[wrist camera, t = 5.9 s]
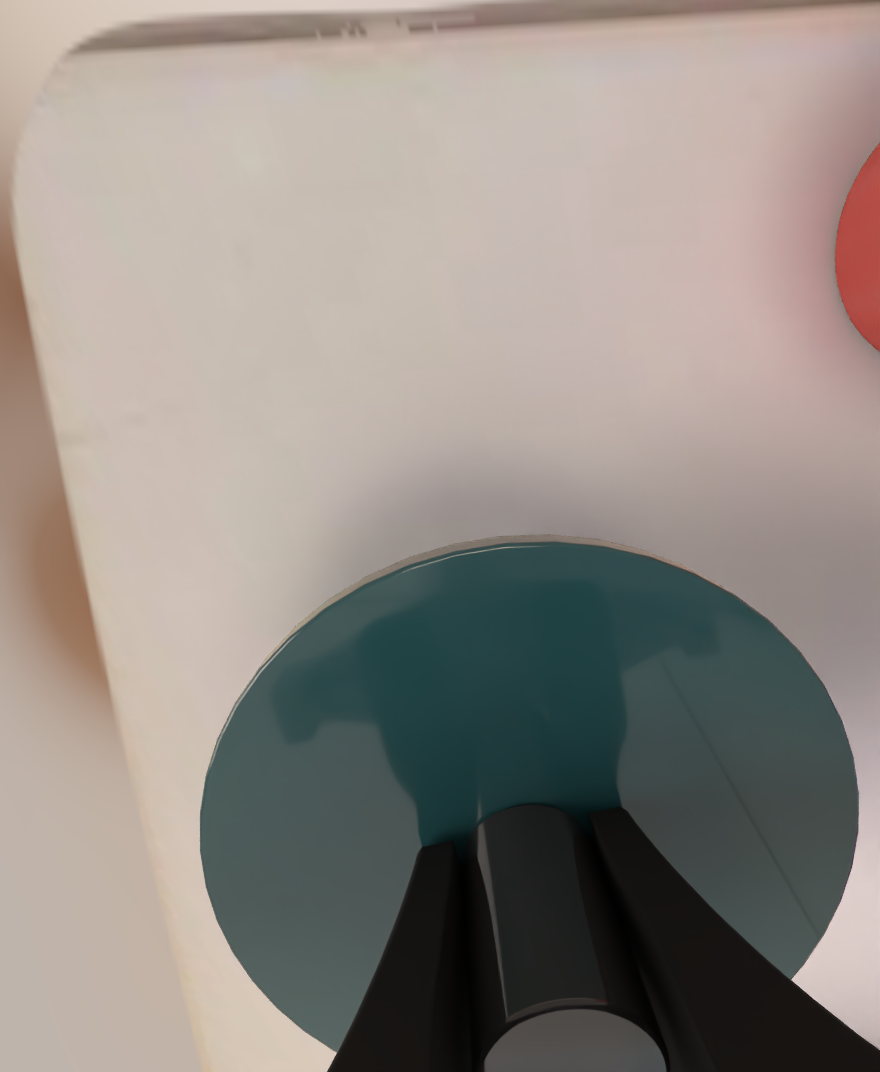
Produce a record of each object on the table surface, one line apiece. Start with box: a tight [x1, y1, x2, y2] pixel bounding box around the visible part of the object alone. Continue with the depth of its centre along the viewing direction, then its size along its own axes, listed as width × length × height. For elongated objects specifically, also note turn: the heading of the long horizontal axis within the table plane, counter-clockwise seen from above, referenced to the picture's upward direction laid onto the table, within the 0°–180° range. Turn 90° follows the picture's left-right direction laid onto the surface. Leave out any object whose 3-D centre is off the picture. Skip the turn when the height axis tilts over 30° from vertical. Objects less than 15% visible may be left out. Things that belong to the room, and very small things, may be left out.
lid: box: [200, 535, 859, 1072], centre depth 10 cm, size 13×13×5 cm
